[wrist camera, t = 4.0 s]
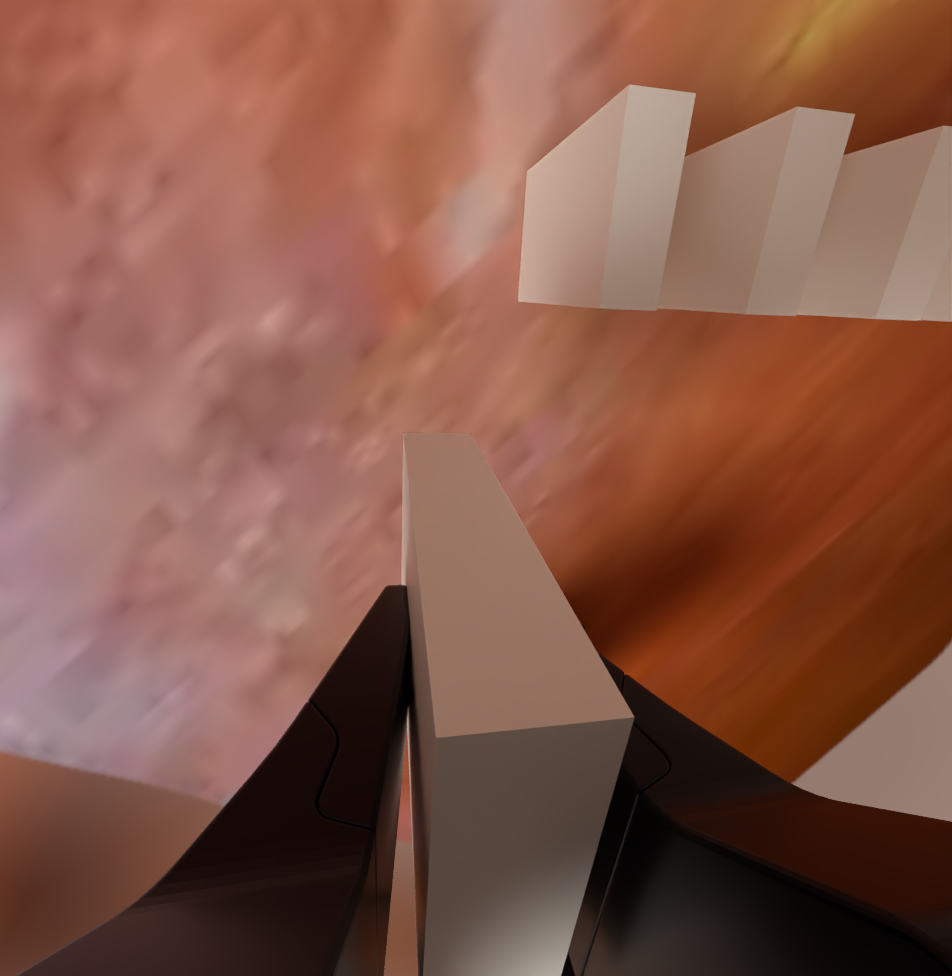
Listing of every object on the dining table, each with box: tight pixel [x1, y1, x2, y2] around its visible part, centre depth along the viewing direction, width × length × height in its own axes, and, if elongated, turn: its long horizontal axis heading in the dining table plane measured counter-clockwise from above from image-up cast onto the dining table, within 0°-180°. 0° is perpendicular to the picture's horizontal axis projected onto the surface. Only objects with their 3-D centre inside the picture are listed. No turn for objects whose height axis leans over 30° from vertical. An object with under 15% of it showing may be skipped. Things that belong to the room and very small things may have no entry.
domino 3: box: [657, 106, 855, 316], centre depth 15 cm, size 4×2×8 cm, turn 178°
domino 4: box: [797, 126, 952, 321], centre depth 16 cm, size 4×2×8 cm, turn 178°
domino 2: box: [518, 84, 696, 311], centre depth 14 cm, size 4×2×8 cm, turn 178°
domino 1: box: [402, 432, 634, 976], centre depth 8 cm, size 4×2×8 cm, turn 176°
